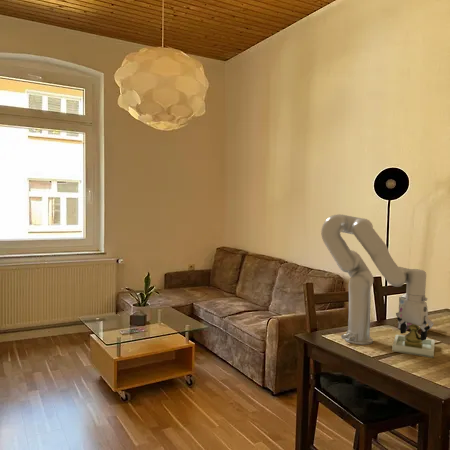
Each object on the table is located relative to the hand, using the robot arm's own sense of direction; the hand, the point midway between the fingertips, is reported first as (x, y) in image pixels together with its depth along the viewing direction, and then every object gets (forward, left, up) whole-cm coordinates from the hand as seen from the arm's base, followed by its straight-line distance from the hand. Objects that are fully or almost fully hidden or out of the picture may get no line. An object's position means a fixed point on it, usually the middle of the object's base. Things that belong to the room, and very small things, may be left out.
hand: (412, 336), depth 188 cm
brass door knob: (0, 0, -5) cm, 5 cm away
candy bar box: (+25, +21, -6) cm, 33 cm away
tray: (0, 0, -5) cm, 5 cm away
